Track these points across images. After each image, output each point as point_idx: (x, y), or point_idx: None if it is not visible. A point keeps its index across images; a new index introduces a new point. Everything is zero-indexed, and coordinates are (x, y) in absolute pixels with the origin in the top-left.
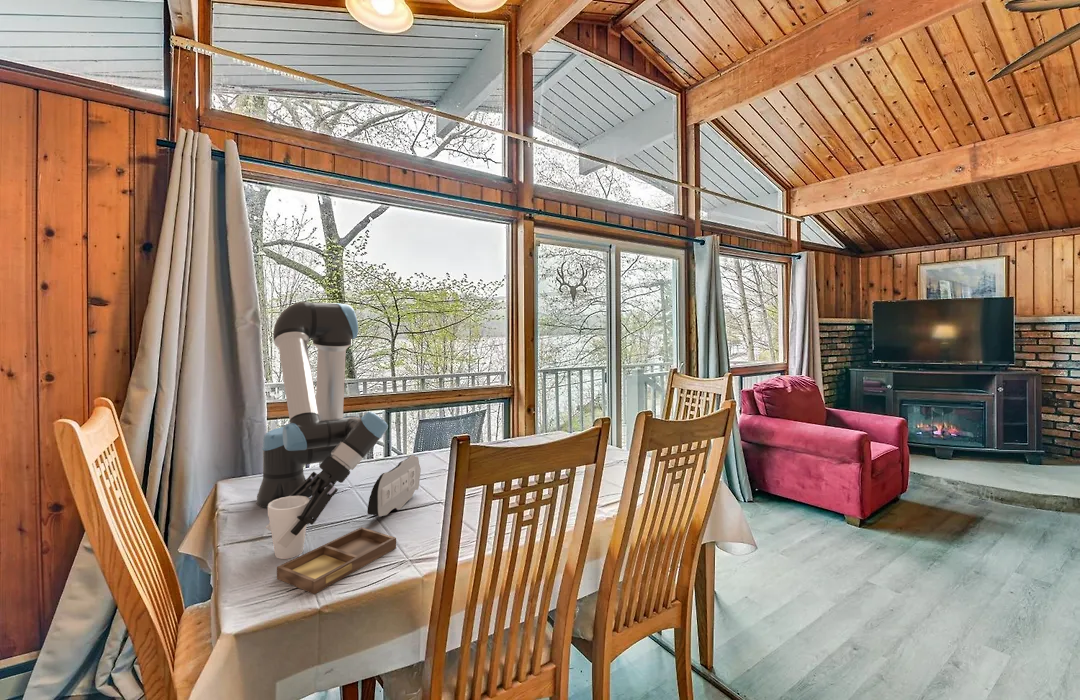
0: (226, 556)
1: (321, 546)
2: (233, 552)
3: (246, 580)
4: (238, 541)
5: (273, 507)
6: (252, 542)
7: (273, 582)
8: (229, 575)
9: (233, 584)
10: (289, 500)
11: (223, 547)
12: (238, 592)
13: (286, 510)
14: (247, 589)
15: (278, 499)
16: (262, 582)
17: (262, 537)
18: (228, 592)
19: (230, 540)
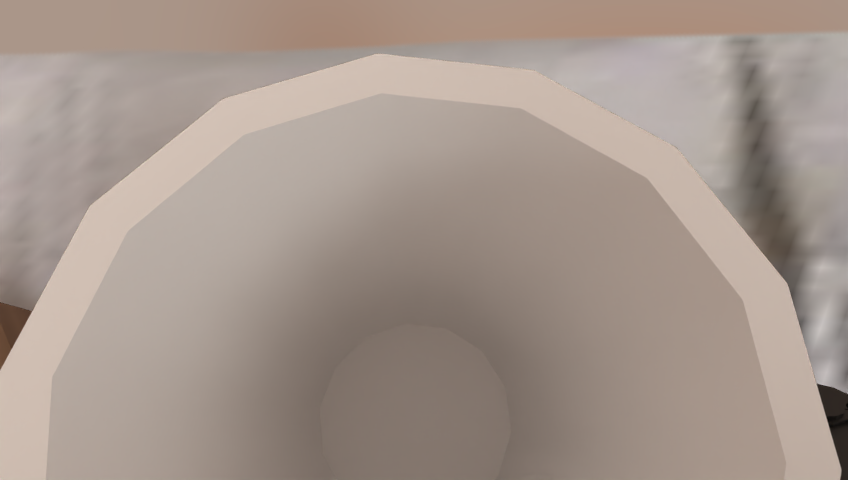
0: (552, 53)
1: None
2: (595, 86)
3: (149, 153)
4: (765, 111)
5: (549, 185)
6: (714, 189)
7: (15, 293)
8: (273, 72)
9: (143, 92)
10: (732, 448)
11: (699, 36)
12: (26, 115)
13: (26, 343)
14: (29, 157)
15: (697, 235)
16: (61, 233)
17: (782, 251)
18: (63, 72)
19: (800, 68)
